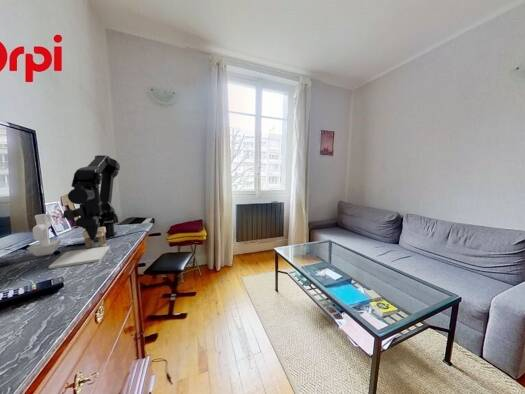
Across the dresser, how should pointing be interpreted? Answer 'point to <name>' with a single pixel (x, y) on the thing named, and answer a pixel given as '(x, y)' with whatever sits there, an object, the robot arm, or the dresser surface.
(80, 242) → the dresser surface
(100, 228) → the tan pegged block
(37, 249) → the figurine
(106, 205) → the robot arm
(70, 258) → the mat
